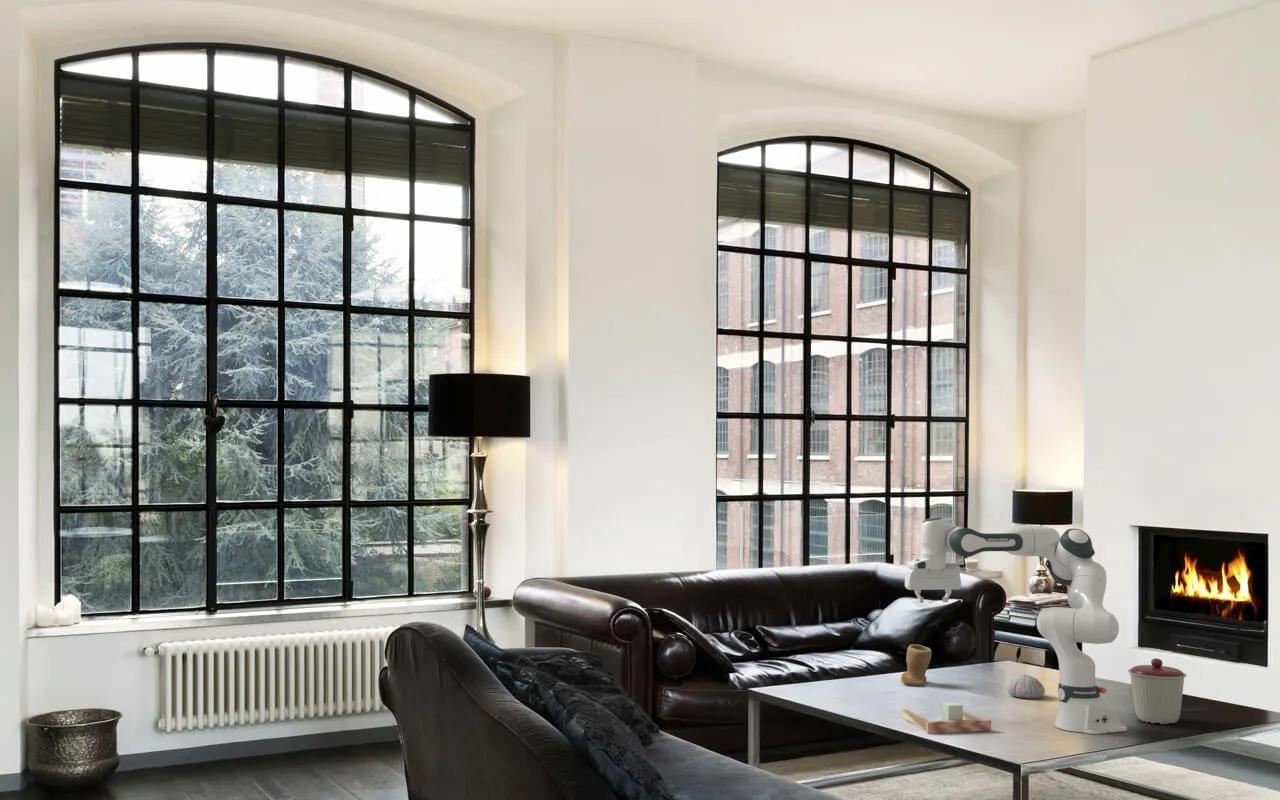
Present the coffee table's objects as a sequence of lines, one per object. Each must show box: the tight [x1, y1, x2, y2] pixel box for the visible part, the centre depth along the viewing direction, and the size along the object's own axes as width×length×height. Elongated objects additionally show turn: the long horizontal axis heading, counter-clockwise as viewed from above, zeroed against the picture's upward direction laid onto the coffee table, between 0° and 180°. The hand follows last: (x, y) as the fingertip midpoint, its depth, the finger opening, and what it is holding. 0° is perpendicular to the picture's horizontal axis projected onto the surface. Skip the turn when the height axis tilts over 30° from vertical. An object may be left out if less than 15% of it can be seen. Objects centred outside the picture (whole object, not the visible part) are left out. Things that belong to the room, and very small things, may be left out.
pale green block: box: [941, 701, 964, 721], centre depth 384 cm, size 5×5×8 cm
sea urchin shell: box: [1006, 674, 1046, 700], centre depth 438 cm, size 13×14×8 cm
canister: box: [1127, 657, 1187, 725], centre depth 399 cm, size 18×18×21 cm
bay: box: [901, 708, 992, 735], centre depth 389 cm, size 22×22×4 cm
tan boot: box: [900, 643, 933, 686], centre depth 461 cm, size 15×12×15 cm
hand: (933, 602), depth 417 cm, fingers open, 8 cm apart
